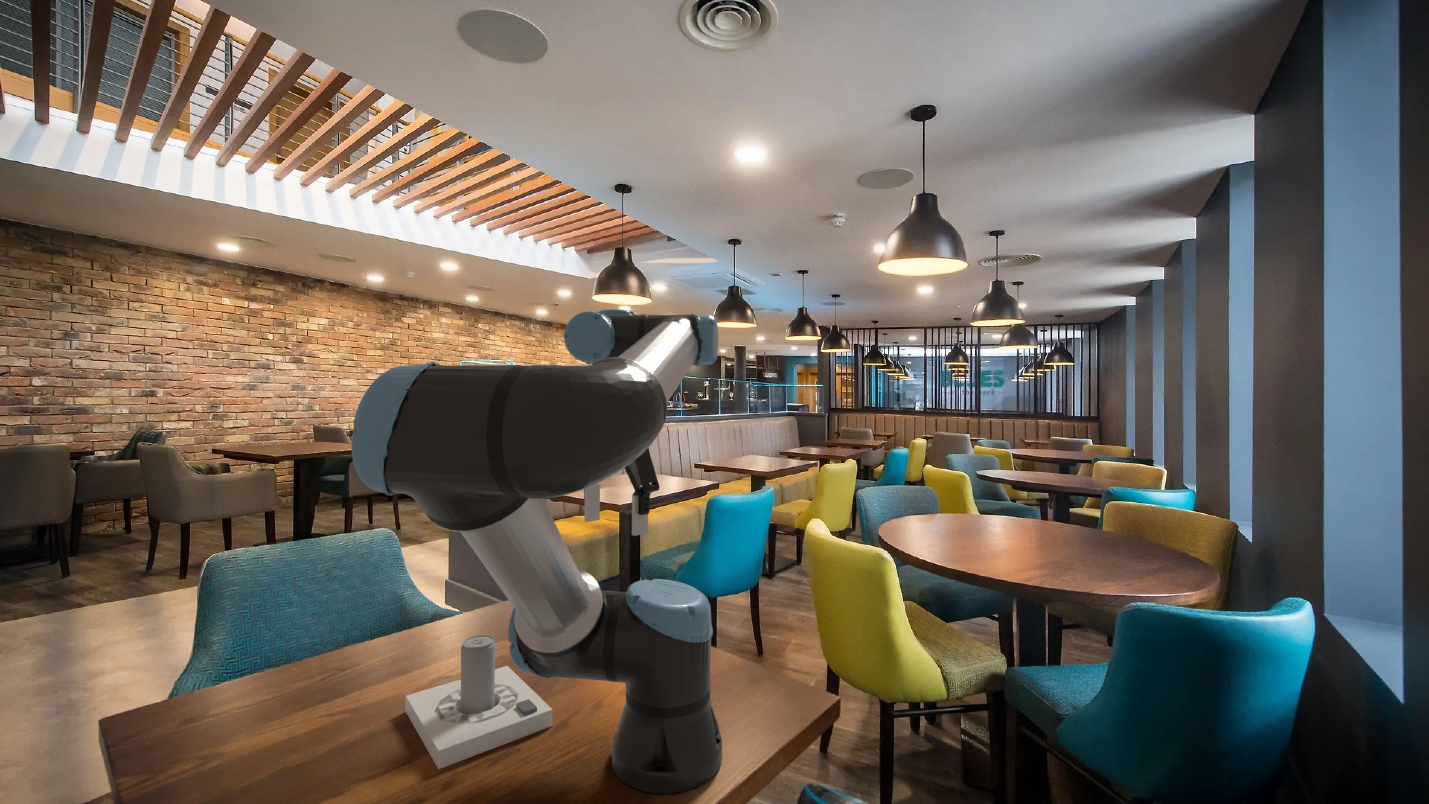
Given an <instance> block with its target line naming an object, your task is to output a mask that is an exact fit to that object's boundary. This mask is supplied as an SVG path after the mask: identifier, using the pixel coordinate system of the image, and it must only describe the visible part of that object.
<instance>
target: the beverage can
mask: <svg viewBox="0 0 1429 804" xmlns="http://www.w3.org/2000/svg"><path fill="white" fill-rule="evenodd" d="M495 669H496V643H495V638H494V636H493V635H492V636H491V635H488V634H479V635H473V636H470V637H467V638H465V639H464V640H463V641H461V647H460V679H461V713H462V714H466V715H467V714H479V713H482V712H485V711H488V710H491V709H492V708H494V706H495Z"/></svg>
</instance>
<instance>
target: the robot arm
mask: <svg viewBox="0 0 1429 804" xmlns="http://www.w3.org/2000/svg"><path fill="white" fill-rule="evenodd" d="M563 338H564V339H563V340H564V344H565V347H566V350H567V351H568V352H569V354H570V355H571V356H572V357H574V359H576V360H578V361H580V362H582V363H585V365H556V364H554V365H553V364H551V365H549V364H533V365H531V364H529V365H525V364H524V365H522V364H521V365H520V364H502V365H501V364H500V365H499V364H495V365H494V364H487V365H485V364H484V365H482V364H480V365H478V364H477V365H441V364H440V363H439V362H434V361H429V362H426V363H424V364H405V365H398V366H395V367H392V368H390V369H388V370H386V371H385V372H383V373H381V374H380V375H379V376H378V377H376V379H375V380H374V381H373V382H372V383H371V384H370V385H369V387H367V389H366V390H365V392H364V394H363V395H362V398H361V400H360V402H359V404H358V407H357V409H356V411H355V415H354V419H353V422H352V423H353V432H352V436H351V439H350V441H351V443H350V444H351V445H350V446H351V456H352V461H353V465H354V469H355V471H356V474H357V476H358V477H359V479H360V481H362V483H363V484H364V485H366V487H368V488H369V489H371V490H372V491H375V492H379V493H383V494H385V495H386V496H396V495H398V494H404V495H407V496H409V497H411V498H413V500H414V501H415V502H416V504H417V505H418V507H419V508H420V509H421V510H422V511H423V513H424V514H425V515H426V516H427V518H428V519H429V520H430V521H431V522H432V523H433V525H436V526H437V527H438V528H440V529H443V530H446V531H449V532H454V533H460V534H461V535H462V536H463V538H464V539H465V541H466V543H468V545H469V546H470V547H471V549H472V551H473V552H474V553H475V555H476V556H477V557H478V559H479V560H480V561H481V563H482V564H483V566H484V567H485V569H486V570H487V572H488V573H489V575H490V576H491V577H492V578H493V580H494V582H495V583H496V585H498V587H499V588H500V590H501V592H502V593H503V594H504V596H505V597H506V598H507V600H508V601H509V602H510V604H511V605H512V607H513V610H512V612H511V615H510V617H509V623H508V631H507V641H508V642H509V643H510V647H509V649H508V650H509V653H510V657H511V659H512V661H513V663H514V665H515V666H516V667H517V669H519V670H520V671H521V672H523V673H525V674H529V675H534V676H537V677H540V678H545V679H546V678H547V679H549V678H554V677H556V678H567V679H577V680H578V679H579V680H590V681H602V682H603V681H604V682H611V683H612V682H613V683H623V684H625V703H624V706H623V711H622V713H621V716H620V719H619V723H618V726H617V730H616V733H615V735H614V737H613V740H612V743H611V744H612V745H611V765H612V768H613V769H612V770H613V772H614V773H615V775H616V776H617V777H618V778H619V779H620V780H621V781H622V782H623V783H624V784H626V785H628V786H629V787H631V788H634V789H636V790H639V791H643V792H646V793H650V794H651V793H652V794H676V793H681V792H686V791H689V790H692V789H695V788H698V787H699V786H702V785H703V784H705V783H707V782H708V781H710V780H711V779H712V778H713V777H714V776H715V775H716V774H717V772H718V771H719V769H720V767H721V765H722V761H723V737H722V734H721V732H720V729H719V724H718V721H717V718H716V715H715V712H714V709H713V705H712V701H711V682H712V681H711V670H712V669H711V664H712V663H711V662H712V660H711V659H712V655H711V654H712V653H711V652H712V637H713V633H714V630H713V629H714V628H713V625H712V611H711V604H710V602H709V599H708V597H707V596H706V595H705V594H704V593H703V592H701V591H700V590H699V589H697V587H696V588H695V587H694V586H692V585H689V584H686V583H683V582H680V581H676V580H671V579H666V578H665V579H662V578H653V579H652V580H650V579H647V578H645V579H640V580H637V581H635V582H633V583H631V584H630V585H629V586H628V588H627V590H626V591H618V590H617V591H616V590H615V591H614V590H602V589H601V587H600V585H599V583H598V582H597V580H596V579H595V578H594V576H592V574H590V573H588V572H587V571H585V570H583V569H580V568H578V567H577V565H576V563H575V560H574V559H573V557H572V554H571V552H570V550H569V548H568V546H567V545H566V542H565V540H564V539H563V537H562V534H561V532H560V530H559V528H558V527H557V524H556V522H555V521H554V518H553V516H552V514H551V512H550V510H549V508H548V506H547V504H546V501H545V500H546V499H552V498H557V497H558V498H559V497H564V496H567V495H570V494H574V493H577V492H580V491H584V492H583V498H584V499H583V500H584V516H583V517H584V522H586V523H587V522H589V523H590V522H595V521H600V520H601V519H600V517H601V514H600V513H601V483H600V482H603V481H604V480H606V479H609V478H610V477H612V476H613V475H615V474H618V473H619V472H620V471H621V470H623V469H624V470H625V472H626V474H627V477H628V479H629V482H630V483H631V485H632V488H633V490H634V492H633V493H632V495H631V498H632V499H631V536H634V537H635V536H641V535H644V534H648V533H649V532H648V531H649V530H648V529H649V514H650V507H651V506H650V503H651V502H650V501H651V497H650V496H651V494H652V493H655V492H658V491H659V490H660V484H659V481H658V477H657V474H656V471H655V467H654V463H653V460H652V456H651V454H650V450H649V447H651V446H652V444H653V443H654V441H655V440H657V438H658V436H659V434H660V433H661V431H662V429H663V427H664V425H665V422H666V419H667V416H668V402H669V401H670V399H671V397H672V396H673V394H674V393H675V392H676V391H677V389H678V387H679V385H681V383H682V382H683V379H684V378H685V377H686V375H687V374H688V372H689V370H690V369H691V368H692V366H695V367H701V366H711V365H713V364H715V363H716V361H717V358H718V353H719V326H718V322H717V319H716V318H715V317H714V316H713V315H711V314H709V315H708V314H696V313H691V314H656V315H655V314H637V312H635V311H632V310H627V309H616V308H615V309H600V310H599V311H589V310H588V311H583V312H579V313H578V314H575V315H574V316H573V317H571V319H570V320H569V321H568V323H567V324H566V326H565V329H564V334H563ZM544 499H545V500H544Z"/></svg>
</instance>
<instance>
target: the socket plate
mask: <svg viewBox="0 0 1429 804" xmlns="http://www.w3.org/2000/svg"><path fill="white" fill-rule="evenodd" d="M404 709H405V713H406V715H407V716H408V719H409V720H410V722H411V723H412V726H413V728H414V729H415V730H416V733H417V734H418V736H419V737H420V740H421V742H422V743H423V744H424V746H425V748H426V750H427V753H429V755H430V757H431V759H432V761H433V762H434V764H435V766H436V768H437V770H441V769H443V768H446V767H449V766H451V765H454V764H456V763H459V762H462V761H464V760H468V759H469V758H472V757H474V756H477V755H480V754H483V753H485V752H487V751H488V752H489V751H491V750H493V749H496V748H499V747H501V746H504V745H507V744H509V743H511V742H514V741H517V740H519V739H522V738H525V737H527V736H530V735H533V734H535V733H538V732H540V731H543V730H546V729H548V728H551V727H553V714H554V713H553V708H552V707H551V706H550V705H548V703H547V702H546V701H544V700H543V699H542V698H541V696H539V695H538V693H536V692H535V690H533V689H532V688H531V687H530V686H529V685H528V684H527V683H526V682H525V681H524V680H522V678H521V677H519V676H518V674H517V673H515V672H514V671H513V670H512V668H510V667H509V666H508V665H504V666H502V667H498V668H495V706H494V708H492V709H491V710H488V711H485V712H482V713H479V714H467V715H466V714H462V713H461V678H460V679H458V680H454V681H450V682H447V683H445V684H441V685H436V686H435V687H434V686H433V687H431V688H430V687H429V688H427V689H424V690H423V689H422V690H420V691H417V692H413V693H410V694H406V695H405V708H404Z"/></svg>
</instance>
